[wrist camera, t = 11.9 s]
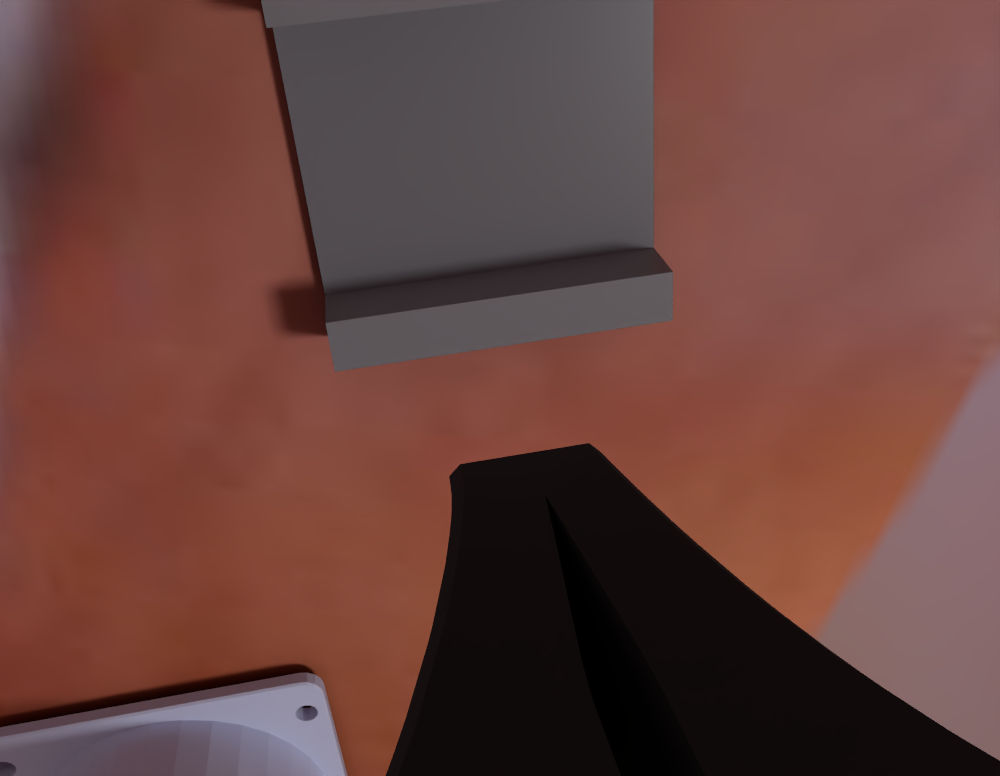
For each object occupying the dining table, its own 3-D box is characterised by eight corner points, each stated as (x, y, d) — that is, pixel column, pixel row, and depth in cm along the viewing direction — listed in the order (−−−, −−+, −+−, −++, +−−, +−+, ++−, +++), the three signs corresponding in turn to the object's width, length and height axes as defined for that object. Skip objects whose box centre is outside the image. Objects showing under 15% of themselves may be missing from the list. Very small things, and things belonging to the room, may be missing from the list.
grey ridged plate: (650, 290, 19) (672, 320, 18) (333, 337, 19) (334, 371, 17) (649, -96, 16) (676, -91, 14) (257, -54, 15) (251, -44, 14)
